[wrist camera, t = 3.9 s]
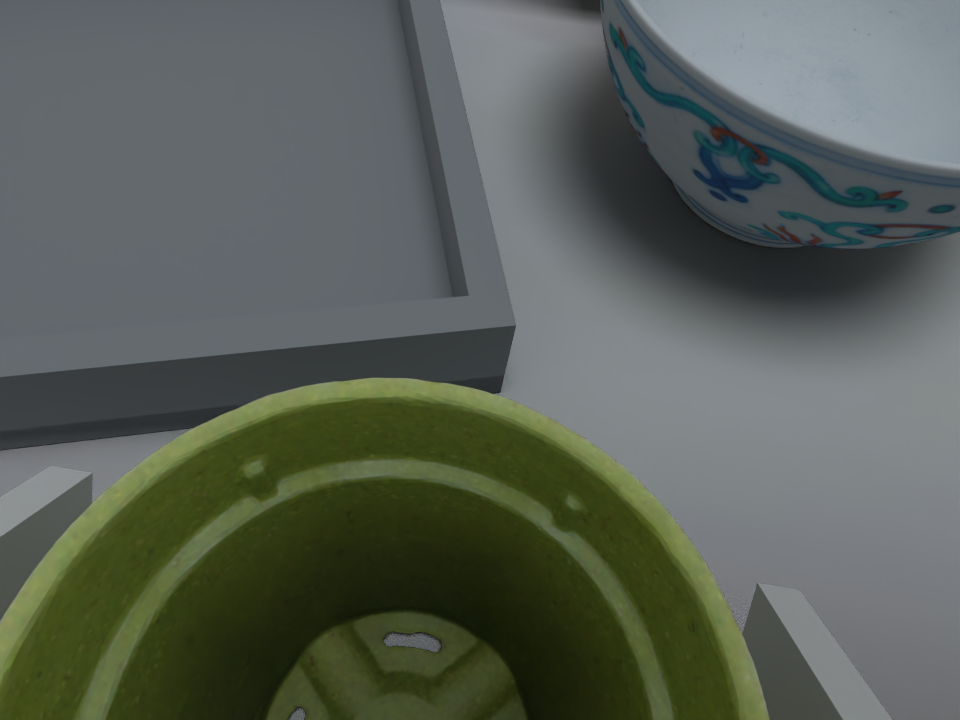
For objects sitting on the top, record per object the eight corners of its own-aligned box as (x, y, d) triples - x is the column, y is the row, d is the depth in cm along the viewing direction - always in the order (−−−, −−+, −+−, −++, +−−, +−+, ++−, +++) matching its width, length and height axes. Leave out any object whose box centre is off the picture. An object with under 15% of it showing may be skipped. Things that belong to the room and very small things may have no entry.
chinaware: (610, 6, 30) (666, -210, 23) (963, 110, 29) (1131, -91, 22) (496, 262, 23) (533, 49, 16) (968, 420, 21) (1225, 258, 14)
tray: (413, -22, 30) (413, -112, 27) (500, 392, 20) (516, 325, 17) (-112, -12, 27) (-179, -112, 24) (-311, 485, 17) (-466, 424, 14)
